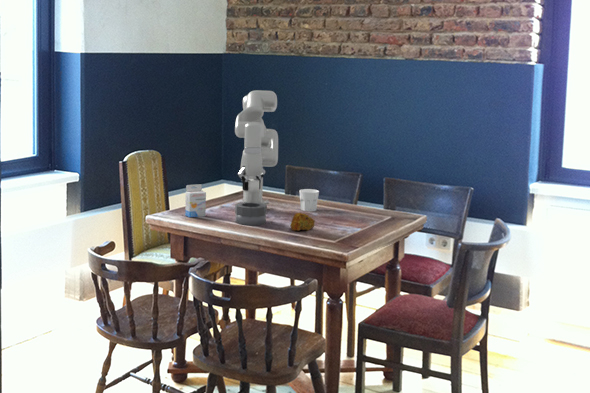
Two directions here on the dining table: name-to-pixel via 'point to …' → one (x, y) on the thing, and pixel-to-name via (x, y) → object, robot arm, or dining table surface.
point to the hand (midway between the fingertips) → (251, 189)
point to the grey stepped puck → (250, 213)
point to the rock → (302, 222)
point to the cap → (253, 185)
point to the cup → (308, 199)
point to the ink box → (195, 201)
